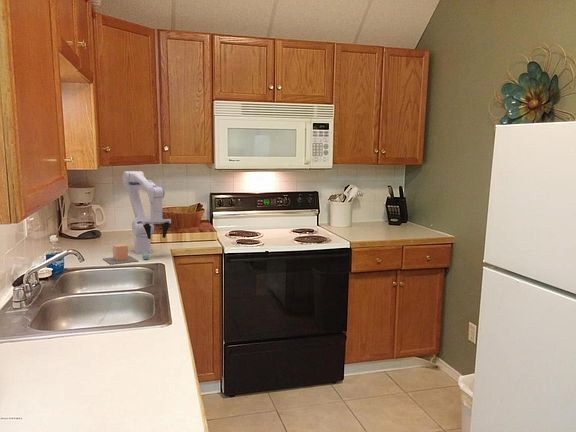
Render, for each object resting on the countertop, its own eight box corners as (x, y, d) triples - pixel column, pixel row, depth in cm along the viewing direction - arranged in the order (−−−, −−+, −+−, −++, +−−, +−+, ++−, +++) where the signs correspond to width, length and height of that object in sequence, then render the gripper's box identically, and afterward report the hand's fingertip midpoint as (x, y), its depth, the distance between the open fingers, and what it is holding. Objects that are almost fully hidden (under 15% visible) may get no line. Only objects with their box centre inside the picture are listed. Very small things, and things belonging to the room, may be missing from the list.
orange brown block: (113, 259, 219) (112, 244, 218) (124, 257, 222) (124, 243, 221) (116, 261, 215) (116, 246, 214) (128, 260, 218) (127, 245, 217)
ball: (141, 259, 222) (141, 252, 222) (148, 258, 224) (147, 252, 224) (143, 260, 220) (143, 254, 219) (150, 259, 222) (150, 253, 221)
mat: (102, 259, 220) (102, 258, 220) (129, 256, 228) (129, 255, 228) (110, 264, 210) (110, 263, 209) (138, 261, 217) (138, 260, 217)
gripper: (144, 212, 219) (145, 240, 221) (173, 211, 227) (173, 238, 229) (139, 211, 225) (140, 238, 226) (168, 209, 233) (168, 236, 235)
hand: (156, 238), depth 228 cm, fingers open, 7 cm apart
